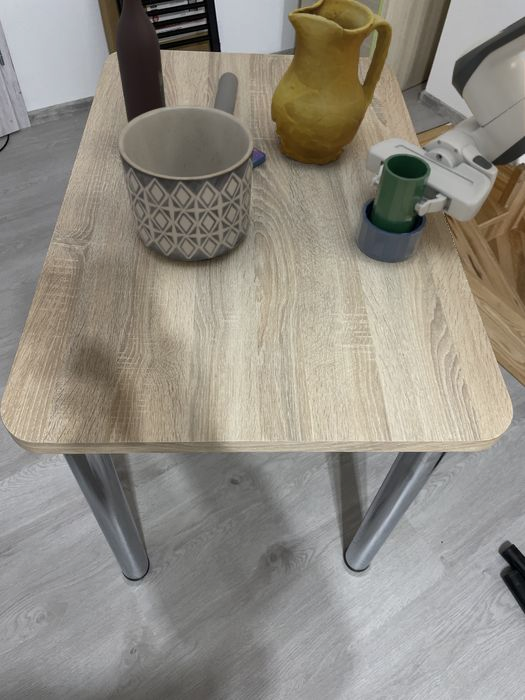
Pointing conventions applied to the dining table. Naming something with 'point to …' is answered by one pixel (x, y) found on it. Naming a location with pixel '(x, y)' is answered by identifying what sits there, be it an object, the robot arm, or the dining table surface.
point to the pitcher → (327, 79)
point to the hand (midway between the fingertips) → (395, 197)
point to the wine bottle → (139, 61)
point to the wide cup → (387, 238)
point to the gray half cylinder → (226, 93)
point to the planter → (188, 180)
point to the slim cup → (399, 192)
